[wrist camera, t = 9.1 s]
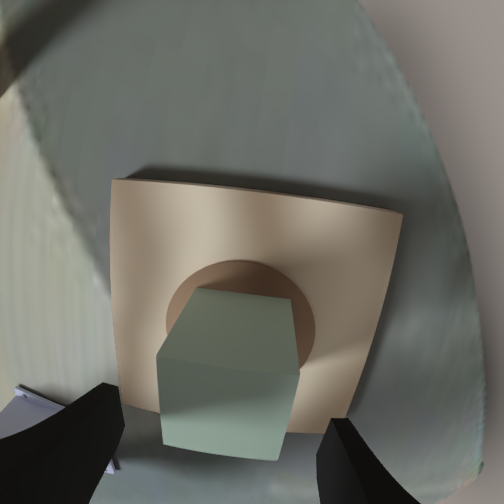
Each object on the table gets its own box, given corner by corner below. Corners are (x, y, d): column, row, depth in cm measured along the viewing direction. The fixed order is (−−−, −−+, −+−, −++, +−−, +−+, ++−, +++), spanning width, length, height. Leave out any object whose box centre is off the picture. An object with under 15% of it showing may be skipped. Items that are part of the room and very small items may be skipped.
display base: (130, 390, 19) (122, 405, 18) (124, 177, 16) (110, 179, 14) (334, 418, 19) (338, 436, 17) (392, 210, 15) (404, 215, 14)
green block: (193, 363, 16) (163, 444, 11) (196, 287, 15) (156, 355, 9) (277, 374, 16) (277, 460, 10) (290, 298, 15) (300, 375, 9)
